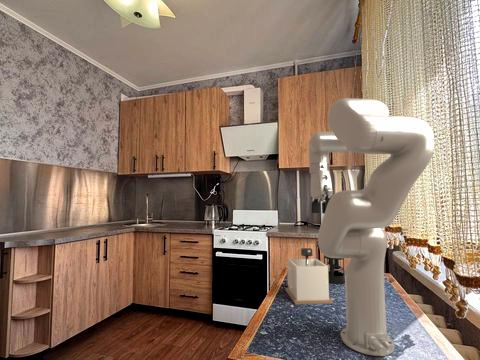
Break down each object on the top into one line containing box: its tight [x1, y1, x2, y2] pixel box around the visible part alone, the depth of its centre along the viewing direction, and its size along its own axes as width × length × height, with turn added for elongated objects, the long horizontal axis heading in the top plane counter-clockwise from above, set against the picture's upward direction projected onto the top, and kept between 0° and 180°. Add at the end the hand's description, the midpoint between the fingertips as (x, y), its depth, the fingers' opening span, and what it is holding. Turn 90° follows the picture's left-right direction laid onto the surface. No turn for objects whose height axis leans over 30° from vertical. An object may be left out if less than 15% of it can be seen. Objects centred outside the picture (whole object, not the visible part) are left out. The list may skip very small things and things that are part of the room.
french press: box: [323, 254, 345, 285], centre depth 118 cm, size 12×9×23 cm
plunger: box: [300, 247, 314, 266], centre depth 99 cm, size 10×10×15 cm
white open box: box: [285, 258, 334, 305], centre depth 99 cm, size 14×14×13 cm
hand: (321, 213), depth 96 cm, fingers open, 9 cm apart
